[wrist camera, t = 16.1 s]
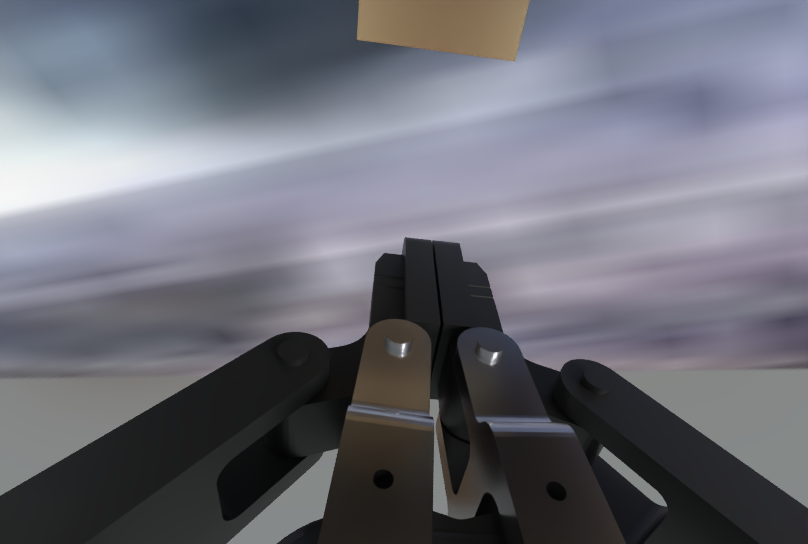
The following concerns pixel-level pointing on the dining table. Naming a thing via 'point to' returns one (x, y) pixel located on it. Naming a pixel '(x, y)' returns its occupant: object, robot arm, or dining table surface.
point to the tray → (446, 25)
